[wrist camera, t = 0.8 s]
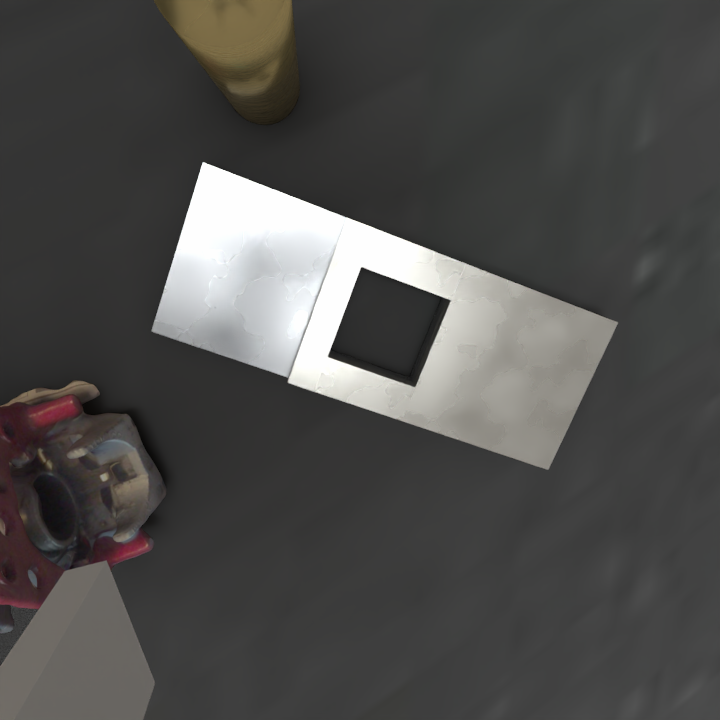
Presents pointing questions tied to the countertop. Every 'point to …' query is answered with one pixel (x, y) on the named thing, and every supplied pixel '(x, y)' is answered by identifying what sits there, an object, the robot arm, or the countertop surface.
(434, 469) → the countertop surface
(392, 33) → the countertop surface
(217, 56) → the pin
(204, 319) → the lower link
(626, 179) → the countertop surface
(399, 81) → the countertop surface
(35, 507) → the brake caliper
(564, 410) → the light grey flat block
